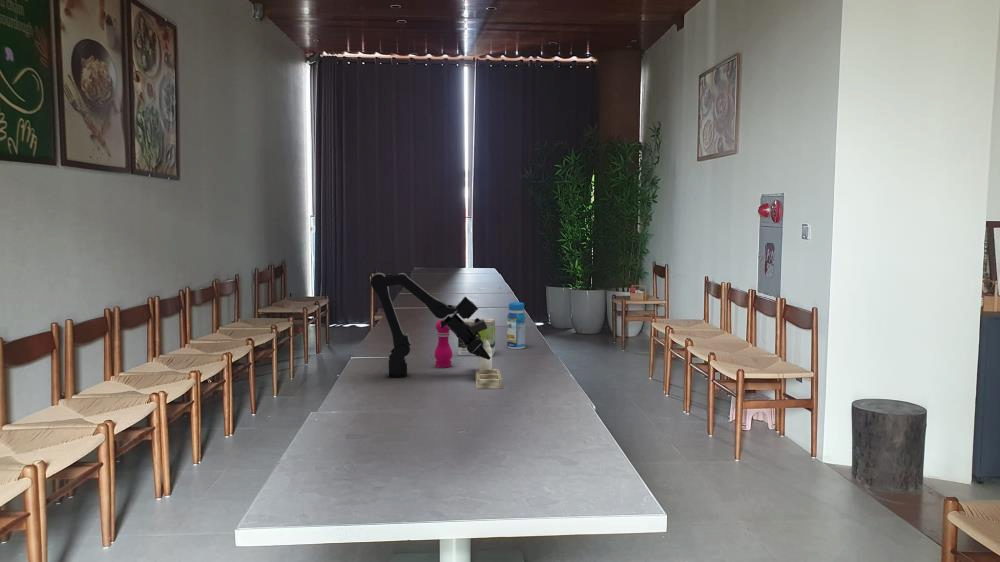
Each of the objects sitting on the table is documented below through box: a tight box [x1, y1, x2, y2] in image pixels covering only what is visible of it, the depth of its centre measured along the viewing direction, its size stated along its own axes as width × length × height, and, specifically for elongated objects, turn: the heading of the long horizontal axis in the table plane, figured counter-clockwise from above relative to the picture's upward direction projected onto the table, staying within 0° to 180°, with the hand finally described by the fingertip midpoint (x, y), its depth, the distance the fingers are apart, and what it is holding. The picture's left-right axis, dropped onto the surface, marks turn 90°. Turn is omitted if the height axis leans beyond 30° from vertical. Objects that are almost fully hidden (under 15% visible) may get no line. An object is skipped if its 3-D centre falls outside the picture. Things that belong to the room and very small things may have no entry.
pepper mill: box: [433, 316, 453, 368], centre depth 297 cm, size 7×7×20 cm
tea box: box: [457, 318, 496, 357], centre depth 321 cm, size 15×10×15 cm, turn 84°
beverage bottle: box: [506, 301, 527, 350], centre depth 335 cm, size 8×8×20 cm
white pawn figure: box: [478, 341, 493, 369], centre depth 283 cm, size 5×5×13 cm
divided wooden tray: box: [474, 368, 504, 390], centre depth 271 cm, size 9×17×3 cm, turn 4°
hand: (488, 356), depth 283 cm, fingers open, 9 cm apart
